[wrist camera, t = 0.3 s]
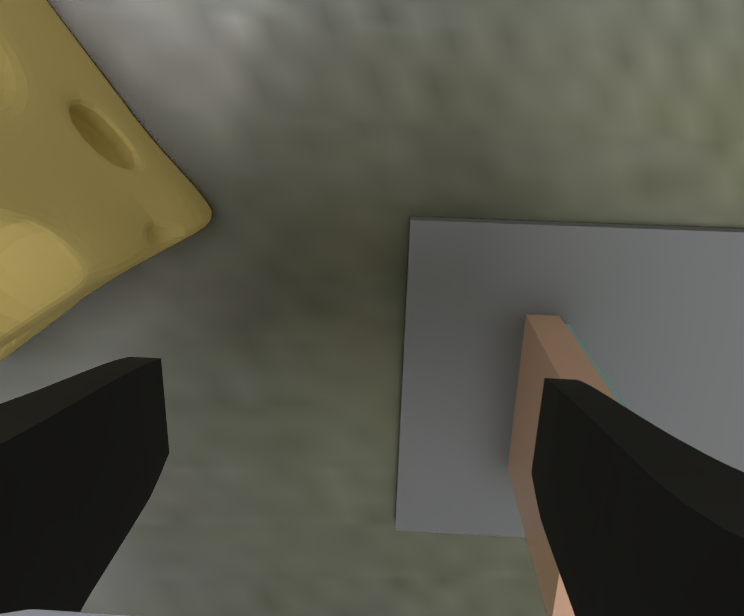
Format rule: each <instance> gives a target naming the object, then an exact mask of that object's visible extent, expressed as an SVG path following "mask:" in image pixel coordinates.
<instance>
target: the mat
mask: <svg viewBox="0 0 744 616" xmlns="http://www.w3.org/2000/svg"><path fill="white" fill-rule="evenodd" d="M526 314H528V315H552V316H560V317H561V319H562V320H563V322H564V323H565V324H570V326H571V327H572V329H573V330H574V331H575V333H576V334H577V336H578V337H579V339H580V340H581V342H582V343H583V344H584V346H585V347H586V349H587V350H588V352H589V353H590V355H591V356H592V358H593V359H594V360H595V362H596V363H597V365H598V366H599V368H600V369H601V371H602V372H603V373H604V375H605V376H606V378H607V379H608V381H609V382H610V384H611V385H612V386H613V388H614V389H615V391H616V392H617V394H618V395H619V397H620V398H621V400H622V401H623V402H624V404H625V405H626V407H627V408H628V409H629V410H631V411H632V412H634V413H635V414H637V415H639V416H640V417H642V418H644V419H645V420H647V421H648V422H650V423H652V424H653V425H655V426H657V427H658V428H660V429H662V430H663V431H665V432H667V433H669V434H670V435H672V436H674V437H675V438H677V439H679V440H681V441H683V442H685V443H686V444H688V445H690V446H692V447H694V448H696V449H697V450H699V451H701V452H703V453H705V454H707V455H709V456H711V457H713V458H715V459H717V460H719V461H721V462H723V463H725V464H727V465H729V466H731V467H733V468H736V469H738V470H740V471H742V472H744V229H743V228H715V227H688V226H660V225H633V224H605V223H578V222H551V221H523V220H496V219H468V218H441V217H413V216H410V232H409V253H408V273H407V294H406V314H405V335H404V355H403V376H402V396H401V417H400V437H399V458H398V478H397V499H396V519H395V531H411V532H429V533H448V534H466V535H485V536H503V537H522V538H526V536H525V532H524V529H523V525H522V521H521V518H520V514H519V510H518V507H517V503H516V499H515V495H514V492H513V488H512V484H511V481H510V477H509V473H508V470H507V468H508V459H509V451H510V443H511V434H512V426H513V418H514V409H515V401H516V393H517V384H518V376H519V368H520V359H521V351H522V342H523V334H524V326H525V317H526Z"/></svg>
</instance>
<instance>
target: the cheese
mask: <svg viewBox="0 0 744 616" xmlns="http://www.w3.org/2000/svg"><path fill="white" fill-rule="evenodd" d="M211 216H212V211H211V209H210V207H209V205H208V204H207V202H206V201H205V199H204V198H203V197H202V195H201V194H200V193H199V192H198V190H197V189H196V188H195V187H194V186H193V185H192V183H191V182H190V181H189V180H188V179H187V178H186V177H185V176H184V175H183V173H182V172H181V171H180V170H179V169H178V168H177V167H176V166H175V165H174V164H173V162H172V161H171V160H170V159H169V158H168V157H167V156H166V155H165V153H164V152H163V151H162V150H161V149H160V148H159V147H158V145H157V144H156V143H155V142H154V141H153V140H152V138H151V137H150V136H149V135H148V133H147V132H146V131H145V130H144V128H143V127H142V126H141V125H140V123H139V122H138V121H137V120H136V118H135V117H134V116H133V115H132V113H131V112H130V111H129V109H128V108H127V106H126V105H125V104H124V102H123V101H122V100H121V98H120V97H119V96H118V94H117V93H116V92H115V91H114V89H113V88H112V87H111V85H110V84H109V83H108V81H107V80H106V79H105V77H104V76H103V75H102V74H101V72H100V71H99V70H98V68H97V67H96V66H95V64H94V63H93V62H92V60H91V59H90V58H89V56H88V55H87V54H86V52H85V51H84V50H83V48H82V47H81V46H80V44H79V43H78V42H77V40H76V39H75V38H74V36H73V35H72V34H71V32H70V31H69V30H68V28H67V27H66V26H65V25H64V23H63V22H62V21H61V19H60V18H59V17H58V15H57V14H56V13H55V11H54V10H53V8H52V7H51V6H50V4H49V3H48V2H47V0H0V361H2V360H3V359H4V358H6V357H7V356H8V355H10V354H11V353H12V352H14V351H15V350H16V349H18V348H19V347H20V346H22V345H23V344H24V343H26V342H27V341H28V340H30V339H31V338H32V337H34V336H35V335H36V334H38V333H39V332H40V331H42V330H43V329H44V328H46V327H47V326H48V325H50V324H51V323H52V322H54V321H55V320H56V319H58V318H59V317H60V316H62V315H63V314H64V313H66V312H67V311H68V310H70V309H71V308H72V307H73V306H75V305H76V304H77V303H78V302H79V301H80V300H81V299H83V298H84V297H85V296H87V295H88V294H90V293H91V292H93V291H94V290H96V289H98V288H99V287H101V286H102V285H104V284H105V283H107V282H108V281H110V280H112V279H113V278H115V277H117V276H118V275H120V274H122V273H123V272H125V271H127V270H129V269H130V268H132V267H134V266H136V265H137V264H139V263H141V262H143V261H145V260H147V259H148V258H150V257H152V256H154V255H156V254H158V253H160V252H162V251H163V250H165V249H167V248H169V247H171V246H173V245H175V244H176V243H178V242H180V241H182V240H184V239H185V238H187V237H189V236H191V235H193V234H194V233H196V232H198V231H199V230H201V229H202V228H203V227H205V226H206V225H207V224H208V223H209V221H210V220H211Z"/></svg>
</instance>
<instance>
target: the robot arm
mask: <svg viewBox="0 0 744 616" xmlns="http://www.w3.org/2000/svg"><path fill="white" fill-rule="evenodd" d="M168 454H169V445H168V434H167V422H166V411H165V399H164V388H163V376H162V365H161V359H159V358H139V357H127V358H123V359H119V360H115V361H112V362H109V363H106V364H103V365H100V366H98V367H95V368H93V369H90V370H87V371H85V372H82V373H80V374H77V375H75V376H72V377H70V378H67V379H65V380H62V381H60V382H57V383H55V384H52V385H50V386H47V387H45V388H42V389H40V390H37V391H34V392H32V393H29V394H26V395H24V396H21V397H18V398H15V399H13V400H10V401H7V402H4V403H2V404H0V616H133V615H118V614H102V613H87V612H80V611H81V609H82V607H83V606H84V604H85V602H86V600H87V599H88V597H89V595H90V593H91V592H92V590H93V589H94V587H95V585H96V584H97V582H98V581H99V579H100V577H101V576H102V574H103V573H104V571H105V569H106V568H107V566H108V565H109V563H110V561H111V560H112V558H113V557H114V555H115V553H116V552H117V550H118V549H119V547H120V545H121V544H122V542H123V541H124V539H125V537H126V536H127V534H128V533H129V531H130V529H131V528H132V526H133V525H134V523H135V521H136V520H137V518H138V516H139V515H140V513H141V511H142V510H143V508H144V506H145V505H146V503H147V501H148V500H149V498H150V496H151V494H152V492H153V490H154V487H155V485H156V483H157V481H158V479H159V476H160V474H161V471H162V469H163V466H164V464H165V462H166V459H167V457H168ZM531 474H532V479H533V485H534V490H535V495H536V500H537V505H538V510H539V514H540V519H541V522H542V525H543V528H544V531H545V534H546V536H547V539H548V542H549V545H550V548H551V551H552V554H553V556H554V559H555V562H556V565H557V567H558V570H559V573H560V576H561V579H562V581H563V584H564V587H565V590H566V592H567V595H568V598H569V601H570V603H571V606H572V609H573V612H574V615H575V616H744V472H742V471H740V470H738V469H736V468H733V467H731V466H729V465H727V464H725V463H723V462H721V461H719V460H717V459H715V458H713V457H711V456H709V455H707V454H705V453H703V452H701V451H699V450H697V449H696V448H694V447H692V446H690V445H688V444H686V443H685V442H683V441H681V440H679V439H677V438H675V437H674V436H672V435H670V434H669V433H667V432H665V431H663V430H662V429H660V428H658V427H657V426H655V425H653V424H652V423H650V422H648V421H647V420H645V419H644V418H642V417H640V416H639V415H637V414H635V413H634V412H632V411H631V410H629V409H628V408H626V407H624V406H623V405H621V404H620V403H618V402H616V401H615V400H613V399H612V398H610V397H608V396H607V395H605V394H604V393H602V392H600V391H599V390H597V389H595V388H594V387H592V386H590V385H588V384H586V383H584V382H582V381H580V380H574V379H554V378H544V385H543V392H542V399H541V407H540V414H539V421H538V428H537V435H536V442H535V450H534V457H533V464H532V471H531Z"/></svg>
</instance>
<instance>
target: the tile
mask: <svg viewBox="0 0 744 616" xmlns="http://www.w3.org/2000/svg"><path fill="white" fill-rule="evenodd" d="M544 378H554V379H574V380H580V381H582V382H584V383H586V384H588V385H590V386H592V387H594V388H595V389H597V390H599V391H600V392H602V393H604V394H605V395H607V396H608V397H610V398H612V399H613V400H615V401H616V402H618V403H620V404H621V405H623V406H624V407H626V405H625V404H624V402H623V401H622V400H621V398H620V397H619V395H618V394H617V392H616V391H615V389H614V388H613V386H612V385H611V384H610V382H609V381H608V379H607V378H606V376H605V375H604V373H603V372H602V371H601V369H600V368H599V366H598V365H597V363H596V362H595V360H594V359H593V358H592V356H591V355H590V353H589V352H588V350H587V349H586V347H585V346H584V344H583V343H582V342H581V340H580V339H579V337H578V336H577V334H576V333H575V331H574V330H573V329H572V327H571V326H570V324H565V323H564V322H563V320H562V319H561V317H560V316H552V315H528V314H526V317H525V326H524V334H523V342H522V351H521V359H520V368H519V376H518V384H517V393H516V401H515V409H514V418H513V426H512V434H511V443H510V451H509V459H508V468H507V470H508V473H509V477H510V481H511V484H512V488H513V492H514V495H515V499H516V503H517V507H518V510H519V514H520V518H521V521H522V525H523V529H524V532H525V536H526V540H527V543H528V547H529V551H530V555H531V558H532V562H533V566H534V569H535V573H536V577H537V580H538V584H539V588H540V591H541V595H542V599H543V603H544V606H545V610H546V614H547V616H575V615H574V612H573V609H572V606H571V603H570V601H569V598H568V595H567V592H566V590H565V587H564V584H563V581H562V579H561V576H560V573H559V570H558V567H557V565H556V562H555V559H554V556H553V554H552V551H551V548H550V545H549V542H548V539H547V536H546V534H545V531H544V528H543V525H542V522H541V519H540V514H539V510H538V505H537V500H536V495H535V490H534V485H533V479H532V474H531V471H532V464H533V457H534V450H535V442H536V435H537V428H538V421H539V414H540V407H541V399H542V392H543V385H544ZM626 408H627V407H626Z"/></svg>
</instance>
